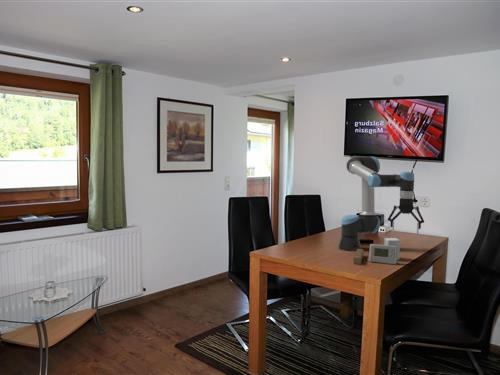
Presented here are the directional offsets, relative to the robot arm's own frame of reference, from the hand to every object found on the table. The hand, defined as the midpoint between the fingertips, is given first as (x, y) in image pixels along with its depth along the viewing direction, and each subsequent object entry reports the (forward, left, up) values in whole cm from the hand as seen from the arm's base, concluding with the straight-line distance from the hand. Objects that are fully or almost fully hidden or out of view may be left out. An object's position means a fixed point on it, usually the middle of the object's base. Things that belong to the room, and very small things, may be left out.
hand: (405, 233), depth 235 cm
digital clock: (0, -12, -19) cm, 23 cm away
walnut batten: (-3, -27, -19) cm, 33 cm away
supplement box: (-13, -7, -19) cm, 24 cm away
